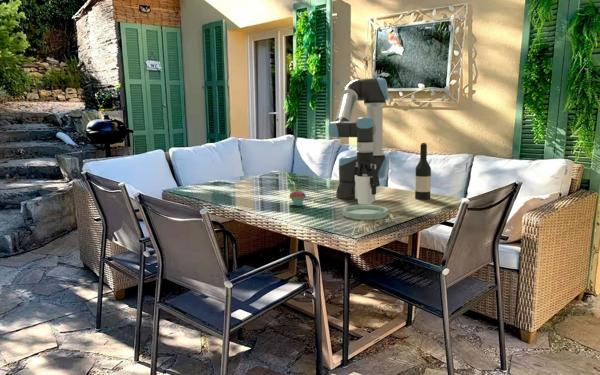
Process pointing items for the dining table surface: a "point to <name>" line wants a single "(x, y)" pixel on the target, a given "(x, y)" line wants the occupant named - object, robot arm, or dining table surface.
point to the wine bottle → (423, 176)
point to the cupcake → (297, 197)
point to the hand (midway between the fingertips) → (365, 199)
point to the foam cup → (363, 189)
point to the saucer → (365, 212)
